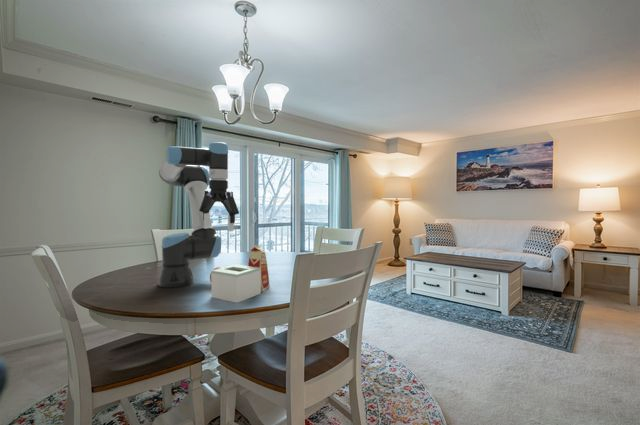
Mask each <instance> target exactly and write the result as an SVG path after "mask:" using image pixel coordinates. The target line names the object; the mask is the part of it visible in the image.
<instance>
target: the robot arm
mask: <svg viewBox="0 0 640 425" xmlns="http://www.w3.org/2000/svg"><path fill="white" fill-rule="evenodd" d="M228 147H229V146H228V143H226V142H221V141H212V142H210V143H209V145H208V148H199V147H190V146H189V147H186V146H177V145H175V146H174V145H173V146H171V145H170V146H168V147H166V151H165V152H166V153H165V154H166V157H165V158H166V162H164V163H163V164H162V165H160V167H159V169H158V170H159V171H158V174H159V177H160V179H161V180H162V181H163V182H164V183H166V184H167V185H170V186H173V187H184V191H185V192H186V193H188V200H189V205H190V213H191V219H192V220H191V221H192V226H193V231H192V232H191V234H189V232H182V233H181V232H178V233H173V234H169V235H168V234H167V235H166V236H164V237H163V238H162V240H161V254H162V255H161V256H162V257H161V261H162V263H161V265H162V269H161V272H160V275H159V279H158V286H159V287H161V288H180V287H186V286H189V285H192V284H193V283H194V280H195V278H194V274H193V272H192V269H191V267H190V261H194V260H204V259H213V258H217V257H218V256H220V254H221V250H222V235H221V234H220V233H217V232H216V229H215V228H213V226H212V223H211V222H212V221H211V212H210V211H211V210H212V208H213V207H214V205H215V203H217V202H219V203H221V204H222V205H223V207H224V208H225V210H226V211H227V213H228V215H227V232H233V231H235V226H234V224H235V222H236V221H235V220H236V216H237V215H238V214H240V211H239V209H238V205H237V203H236V201H235V198H234V192H233V191H227V189H229V188H228V187H229V181H228V179H229V171H228V169H229V160H228V158H229V156H228V155H229V150H228ZM207 167H208V168H207ZM208 170H209V171H208ZM208 186H209V187H208ZM207 188H209V189H210V190H207Z"/></svg>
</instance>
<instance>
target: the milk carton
mask: <svg viewBox="0 0 640 425" xmlns="http://www.w3.org/2000/svg"><path fill="white" fill-rule="evenodd" d="M253 246H254V247H253V248H252V249H250V250H249V257H248V261H247V266H251V267H258V268H261V292H265V291H266V290H267V289H268V288H270V285H271V284H270V277H269V275H270V274H269V269H268V262H267V261H268V260H267V255H266V251H265V250H263V249H262V248H261V246H260V245H257V244H253Z"/></svg>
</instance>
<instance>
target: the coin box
mask: <svg viewBox="0 0 640 425" xmlns="http://www.w3.org/2000/svg"><path fill="white" fill-rule="evenodd" d="M210 274H211V281H210V283H211V284H210V285H211V298H213V299H218V300H222V301H228V302H232V303H241V302H243V301H245V300H248V299H250V298H253V297H256V296H258V295H261V293H262V291H261V268H258V267H251V266H248V265H243V264H236V263H235V264H232V265H228V266H224V267H220V269H216V270H213V269H212V270H211V272H210Z"/></svg>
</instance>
